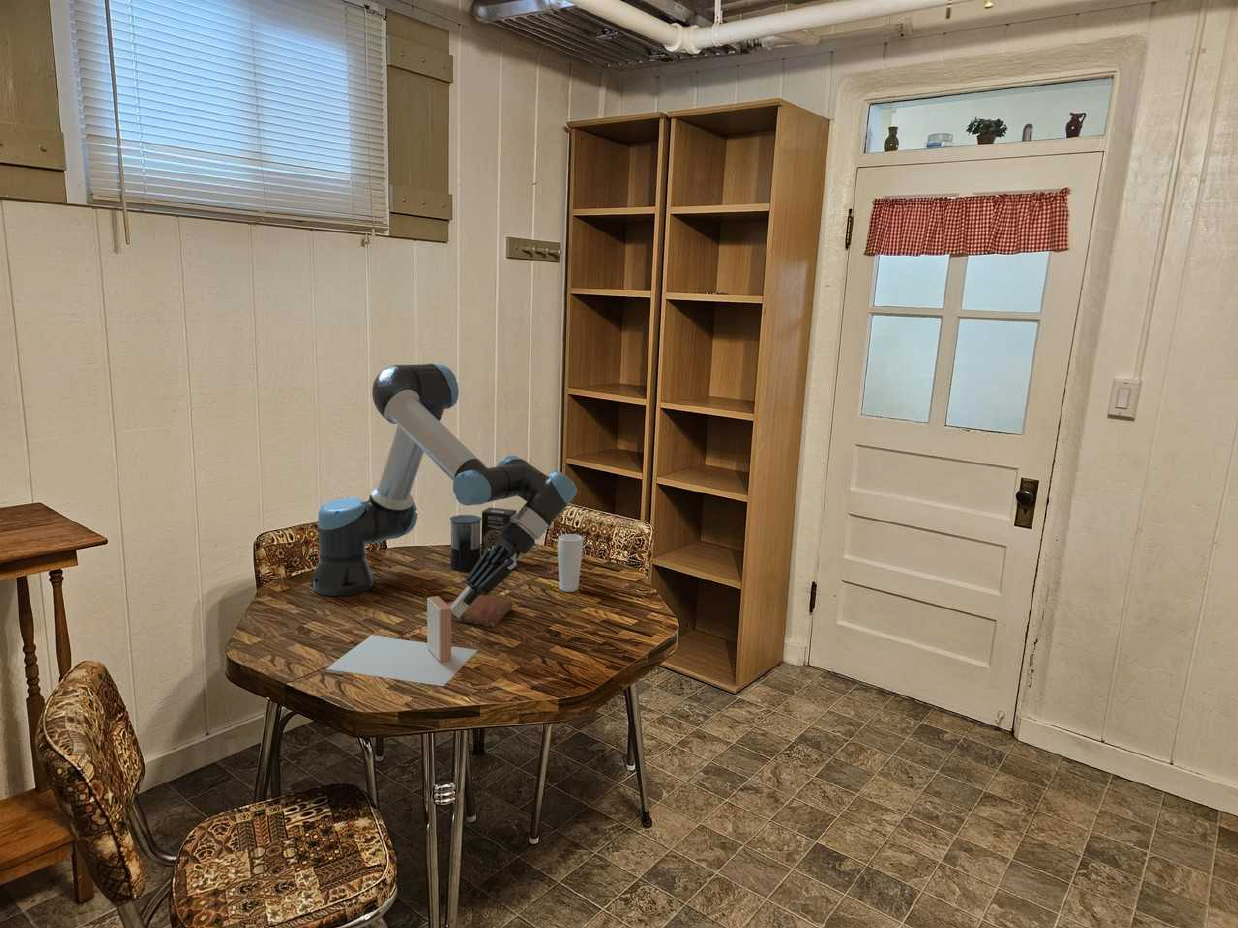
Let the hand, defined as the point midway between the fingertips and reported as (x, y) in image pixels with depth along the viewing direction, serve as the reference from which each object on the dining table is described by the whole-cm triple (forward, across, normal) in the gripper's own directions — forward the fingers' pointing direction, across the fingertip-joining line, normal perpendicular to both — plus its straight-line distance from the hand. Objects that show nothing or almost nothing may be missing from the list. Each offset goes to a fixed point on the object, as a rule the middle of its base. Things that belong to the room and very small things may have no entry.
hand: (453, 613), depth 171 cm
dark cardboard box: (-18, +56, -33) cm, 67 cm away
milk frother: (-13, +53, -28) cm, 61 cm away
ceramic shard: (-2, +19, -17) cm, 26 cm away
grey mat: (+14, +2, 0) cm, 14 cm away
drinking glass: (-24, +25, -38) cm, 52 cm away
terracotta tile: (+9, 0, -4) cm, 10 cm away
